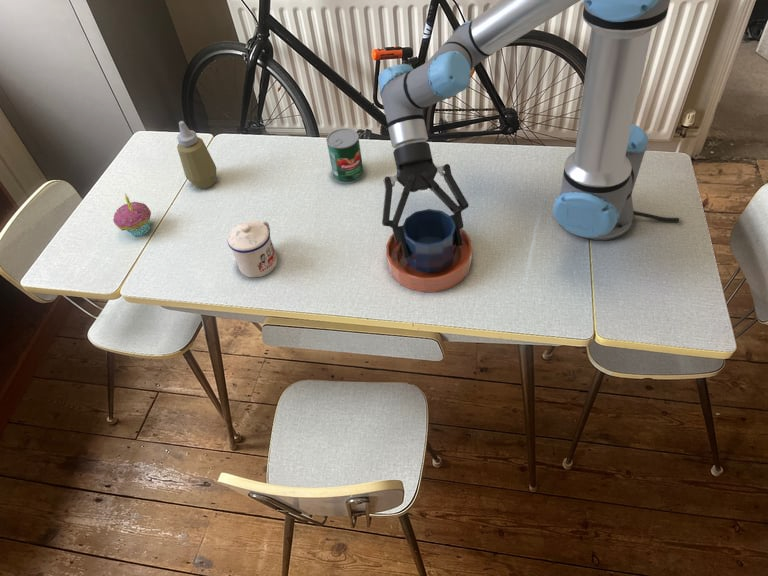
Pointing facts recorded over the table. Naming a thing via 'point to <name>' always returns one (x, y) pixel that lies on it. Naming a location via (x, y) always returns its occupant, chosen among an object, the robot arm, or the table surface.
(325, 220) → the table surface
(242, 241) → the teacup with lid
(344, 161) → the canned tomato
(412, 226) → the blue faceted pot
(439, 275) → the lower bowl
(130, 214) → the cupcake
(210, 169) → the squeeze bottle
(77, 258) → the table surface
